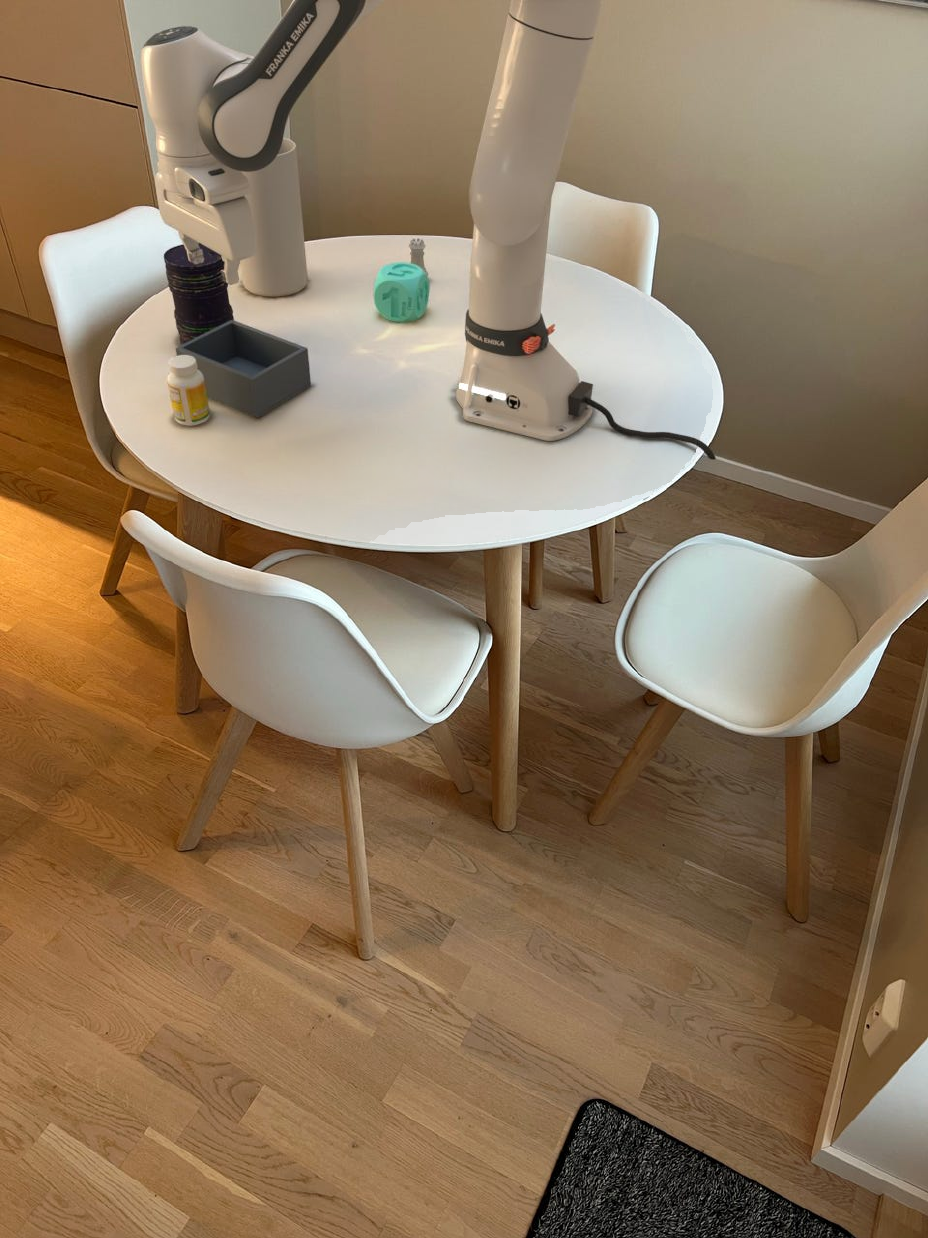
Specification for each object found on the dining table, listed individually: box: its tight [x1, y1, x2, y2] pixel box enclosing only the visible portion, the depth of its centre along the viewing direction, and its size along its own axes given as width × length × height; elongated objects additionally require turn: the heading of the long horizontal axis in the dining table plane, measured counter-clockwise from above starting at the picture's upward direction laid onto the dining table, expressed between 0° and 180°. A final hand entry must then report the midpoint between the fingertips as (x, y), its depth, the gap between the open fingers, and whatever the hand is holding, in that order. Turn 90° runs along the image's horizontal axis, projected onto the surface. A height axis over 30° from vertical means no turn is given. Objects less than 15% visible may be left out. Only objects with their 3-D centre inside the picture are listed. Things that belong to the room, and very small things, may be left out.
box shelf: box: [174, 319, 312, 419], centre depth 149 cm, size 17×13×7 cm
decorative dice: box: [373, 261, 431, 323], centre depth 170 cm, size 8×8×8 cm
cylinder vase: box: [239, 136, 309, 298], centre depth 172 cm, size 12×12×25 cm
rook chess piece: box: [408, 237, 429, 277], centre depth 180 cm, size 4×4×8 cm
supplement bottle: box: [166, 355, 211, 427], centre depth 141 cm, size 5×5×10 cm
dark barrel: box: [163, 242, 235, 345], centre depth 158 cm, size 10×10×15 cm
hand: (213, 271), depth 133 cm, fingers open, 8 cm apart
